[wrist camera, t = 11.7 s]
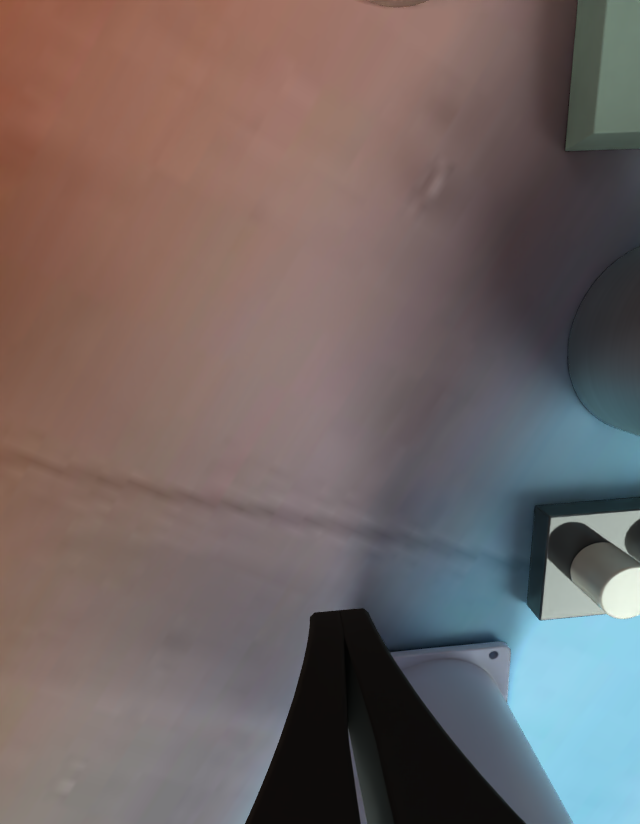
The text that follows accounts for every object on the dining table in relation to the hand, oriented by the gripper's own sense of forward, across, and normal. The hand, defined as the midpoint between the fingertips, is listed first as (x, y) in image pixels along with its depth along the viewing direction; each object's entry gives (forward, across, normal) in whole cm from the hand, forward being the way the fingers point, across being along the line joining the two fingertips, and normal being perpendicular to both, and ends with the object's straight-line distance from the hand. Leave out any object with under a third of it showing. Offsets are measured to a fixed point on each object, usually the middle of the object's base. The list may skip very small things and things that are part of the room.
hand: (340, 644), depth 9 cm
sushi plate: (+9, -16, +5) cm, 19 cm away
